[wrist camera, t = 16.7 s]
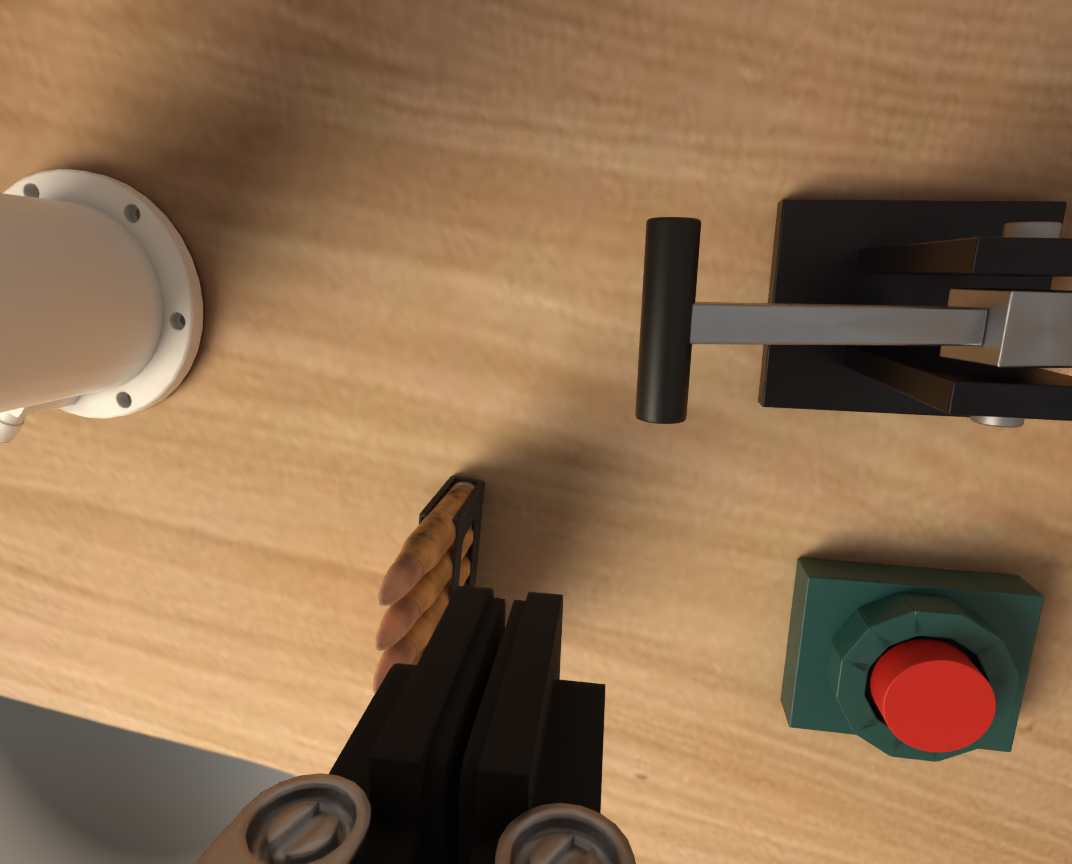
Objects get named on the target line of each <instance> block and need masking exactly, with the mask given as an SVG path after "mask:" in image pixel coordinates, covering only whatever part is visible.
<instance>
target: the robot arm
mask: <svg viewBox="0 0 1072 864" xmlns="http://www.w3.org/2000/svg"><path fill="white" fill-rule="evenodd" d="M202 330H203V301H202V294H201V287H200V281H199V278H198V275H197V272H196V269H195V266H194V262H193V259H192V257H191V255H190V253H189V251H188V249H187V247H186V245H185V243H184V241H183V239H182V237H181V236H180V234H179V233H178V231H177V230H176V229H175V227H174V226H173V225H172V223H171V222H170V221H169V219H168V218H167V216H166V215H165V214H164V213H163V212H162V211H161V210H160V209H159V208H158V207H156V206H155V205H154V204H153V203H152V202H151V201H150V200H149V199H148V198H147V197H145V196H144V195H142V194H141V193H139V192H138V191H136V190H135V189H134V188H132V187H131V186H129V185H127V184H125V183H123V182H120V181H118V180H116V179H113V178H111V177H109V176H105V175H101V174H96V173H92V172H87V171H81V170H71V169H55V170H48V171H41V172H38V173H35V174H32V175H29V176H26V177H24V178H22V179H21V180H19V181H18V182H16V183H15V184H14V185H12V186H11V187H9V188H8V189H7V190H5V191H4V192H3V193H0V443H9V442H11V441H12V440H13V439H14V438H15V436H16V435H17V433H18V432H19V430H20V428H21V427H22V425H23V424H24V419H25V418H26V416H27V415H30V414H34V413H39V412H43V411H47V410H52V409H56V408H58V409H61V410H63V411H65V412H67V413H71V414H75V415H79V416H83V417H87V418H107V419H108V418H114V417H120V416H125V415H129V414H133V413H136V412H139V411H142V410H145V409H148V408H150V407H151V406H153V405H155V404H157V403H159V402H160V401H162V400H164V399H165V398H166V397H167V396H168V395H169V394H171V393H172V392H173V391H174V390H175V389H176V388H177V387H178V386H179V385H180V383H181V382H182V380H183V379H184V378H185V376H186V375H187V373H188V372H189V370H190V368H191V366H192V364H193V361H194V359H195V357H196V354H197V352H198V348H199V344H200V339H201V334H202ZM562 615H563V595H558V594H547V593H536V592H528V595H527V598H526V601H523V600H514V602H513V605H512V608H511V611H510V615H509V618H508V621H507V624H506V627H505V599H501V598H494V592H493V589H491V588H480V587H468V586H458V587H457V588H456V590H455V592H454V594H453V596H452V598H451V599H450V601H449V603H448V605H447V607H446V609H445V611H444V613H443V615H442V617H441V619H440V621H439V623H438V625H437V626H436V628H435V630H434V632H433V634H432V636H431V638H430V640H429V642H428V644H427V646H426V648H425V650H424V652H423V654H422V655H421V657H420V659H419V661H418V663H417V665H412V664H402V663H396V664H393V666H392V667H391V668H390V669H389V671H388V673H387V674H386V676H385V678H384V680H383V681H382V683H381V685H380V686H379V688H378V690H377V692H376V693H375V695H374V697H373V698H372V700H371V702H370V704H369V705H368V707H367V709H366V711H365V712H364V714H363V716H362V717H361V719H360V721H359V723H358V724H357V726H356V728H355V730H354V731H353V733H352V735H351V736H350V738H349V740H348V742H347V743H346V745H345V747H344V748H343V750H342V752H341V754H340V755H339V757H338V759H337V761H336V762H335V764H334V766H333V767H332V769H331V771H330V773H329V774H321V773H320V774H311V775H302V776H298V777H295V778H291V779H288V780H285V781H282V782H280V783H278V784H276V785H274V786H273V787H271V788H269V789H267V790H265V791H263V792H261V793H260V794H259V795H258V796H257V797H256V798H254V799H253V800H252V801H251V802H250V803H249V804H247V805H246V806H245V807H244V808H243V809H242V811H241V812H240V813H239V814H238V815H237V816H236V817H235V818H234V819H233V821H232V822H231V823H230V824H229V825H228V826H227V827H226V828H225V829H224V831H223V832H222V833H221V834H220V835H219V836H218V837H217V838H216V839H215V841H213V843H212V844H211V845H210V846H209V847H208V848H207V849H206V850H205V851H204V852H203V854H202V855H201V856H200V857H199V858H198V859H197V860H196V861H195V862H194V863H193V864H636V862H635V857H634V854H633V852H632V849H631V847H630V844H629V841H628V839H627V838H626V837H625V835H624V834H623V833H622V832H621V830H620V829H619V828H618V827H617V825H616V824H614V823H613V822H612V821H610V820H609V819H607V818H606V817H605V816H603V815H602V814H600V809H601V784H602V759H603V733H604V708H605V684H596V683H587V682H577V681H567V680H559V677H560V656H561V635H562Z"/></svg>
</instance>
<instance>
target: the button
mask: <svg viewBox="0 0 1072 864" xmlns="http://www.w3.org/2000/svg"><path fill="white" fill-rule="evenodd" d="M870 688H871V694H872V697H873V699H874V701H875V703H876V705H877V707H878V709H879V711H880V713H881V714H882V716H883V718H884V720H885V722H886V724H887V725H888V727H889V729H890V730H891V731H892V733H893V734H894V735H895V736H896V737H897V738H898V739H900V740H901V741H903V742H904V743H906V744H907V745H909V746H911V747H914V748H916V749H919V750H923V751H928V752H949V751H954V750H958V749H961V748H964V747H966V746H968V745H970V744H972V743H973V742H975V741H976V740H978V739H979V738H980V737H981V736H982V735H983V734H984V733H985V732H986V731H987V730H988V728H989V727H990V725H991V723H992V721H993V719H994V715H995V710H996V700H995V695H994V692H993V689H992V687H991V685H990V684H989V682H988V681H987V680H986V678H985V677H984V676H983V675H982V673H981V672H980V671H979V670H978V669H977V668H976V666H975V665H974V664H973V663H972V662H971V661H970V659H969V658H968V657H967V656H966V655H965V654H964V653H963V652H962V651H961V650H959V649H958V648H956V647H954V646H953V645H951V644H948V643H946V642H943V641H939V640H934V639H915V640H910V641H906V642H903V643H901V644H898V645H896V646H894V647H893V648H891V649H890V650H888V651H887V652H886V653H885V654H884V655H882V656H881V658H880V659H879V660H878V661H877V663H876V665H875V666H874V669H873V671H872V675H871V680H870Z"/></svg>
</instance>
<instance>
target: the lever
mask: <svg viewBox="0 0 1072 864" xmlns="http://www.w3.org/2000/svg"><path fill="white" fill-rule="evenodd" d="M700 231H701V221H700V220H699V219H696V218H686V217H658V218H650V219H648V220H647V224H646V241H645V258H644V276H643V293H642V310H641V327H640V345H639V362H638V379H637V397H636V414H635V415H636V418H637V419H639V420H642V421H645V422H649V423H657V424H675V423H681V422H684V421H685V420H686V416H687V403H688V389H689V376H690V363H691V350H692V344H766V345H927V346H941V349H940V357H942V358H946V359H952V360H958V361H964V362H969V363H975V364H981V365H987V366H992V367H998V368H1072V291H1067V290H1039V289H1000V288H954V287H953V288H951V289H950V293H949V300H948V306H901V305H840V304H780V303H719V302H695V297H696V284H697V270H698V257H699V244H700Z"/></svg>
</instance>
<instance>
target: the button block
mask: <svg viewBox="0 0 1072 864" xmlns="http://www.w3.org/2000/svg"><path fill="white" fill-rule="evenodd" d="M1043 599H1044V596H1043V595H1042V594H1040V593H1039V592H1038V591H1037V590H1035V589H1034V588H1033V587H1032V586H1030V585H1029V584H1028V583H1027V582H1025V581H1024V580H1023V579H1022V578H1021V577H1019V576H1018V575H1005V574H992V573H980V572H967V571H955V570H942V569H929V568H917V567H904V566H892V565H879V564H867V563H854V562H841V561H829V560H816V559H804V558H798V561H797V569H796V577H795V585H794V594H793V602H792V610H791V619H790V627H789V635H788V644H787V652H786V660H785V668H784V677H783V685H782V693H781V703H782V706H783V709H784V712H785V715H786V718H787V721H788V724H789V727H792V728H801V729H810V730H819V731H828V732H837V733H845V734H854V735H858V736H859V737H861V738H862V739H864V740H866V741H867V742H869V743H870V744H872V745H873V746H875V747H877V748H878V749H880V750H881V751H883V752H884V753H886V754H888V755H889V756H892V757H900V758H908V759H917V760H926V761H934V762H935V761H941V760H944V759H947V758H950V757H953V756H956V755H960V754H963V753H966V752H969V751H972V750H975V749H987V750H996V751H1004V752H1011V749H1012V744H1013V740H1014V735H1015V730H1016V726H1017V721H1018V716H1019V712H1020V707H1021V702H1022V698H1023V693H1024V688H1025V684H1026V679H1027V674H1028V670H1029V665H1030V660H1031V656H1032V651H1033V646H1034V642H1035V637H1036V632H1037V628H1038V623H1039V618H1040V614H1041V609H1042V604H1043ZM915 639H934V640H939V641H943V642H946V643H948V644H951V645H953V646H954V647H956V648H958V649H959V650H961V651H962V652H963V653H964V654H965V655H966V656H967V657H968V658H969V659H970V661H971V662H972V663H973V664H974V665H975V666H976V668H977V669H978V670H979V671H980V672H981V673H982V675H983V676H984V677H985V678H986V680H987V681H988V682H989V684H990V685H991V687H992V689H993V692H994V695H995V700H996V710H995V715H994V719H993V721H992V723H991V725H990V727H989V728H988V730H987V731H986V732H985V733H984V734H983V735H982V736H981V737H980V738H979V739H978V740H976V741H975V742H973V743H972V744H970V745H968V746H966V747H964V748H961V749H958V750H954V751H949V752H928V751H923V750H919V749H916V748H914V747H911V746H909V745H907V744H906V743H904V742H903V741H901V740H900V739H898V738H897V737H896V736H895V735H894V734H893V733H892V731H891V730H890V729H889V727H888V725H887V724H886V722H885V720H884V718H883V716H882V714H881V713H880V711H879V709H878V707H877V705H876V703H875V701H874V699H873V697H872V694H871V688H870V680H871V675H872V671H873V669H874V666H875V665H876V663H877V661H878V660H879V659H880V658H881V656H882V655H884V654H885V653H886V652H887V651H888V650H890V649H891V648H893V647H894V646H896V645H898V644H901V643H903V642H906V641H910V640H915Z"/></svg>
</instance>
